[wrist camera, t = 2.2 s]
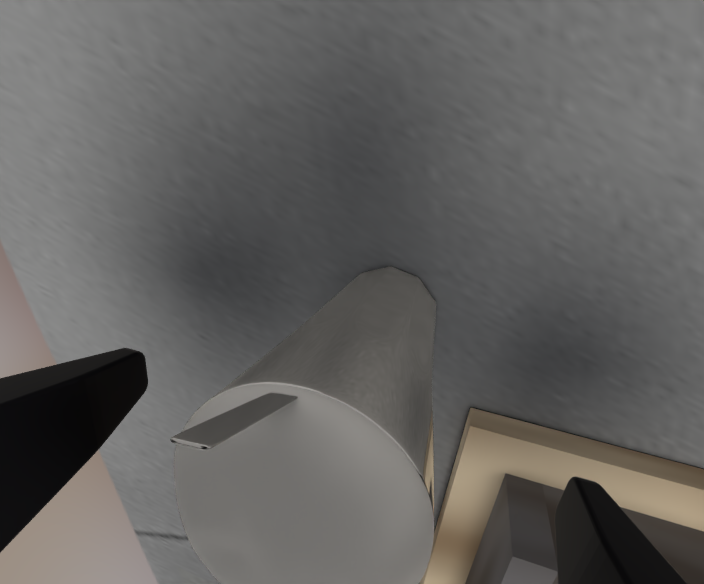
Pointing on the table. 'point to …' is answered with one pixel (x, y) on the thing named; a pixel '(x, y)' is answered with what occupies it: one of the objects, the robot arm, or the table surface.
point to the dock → (552, 502)
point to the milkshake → (321, 448)
